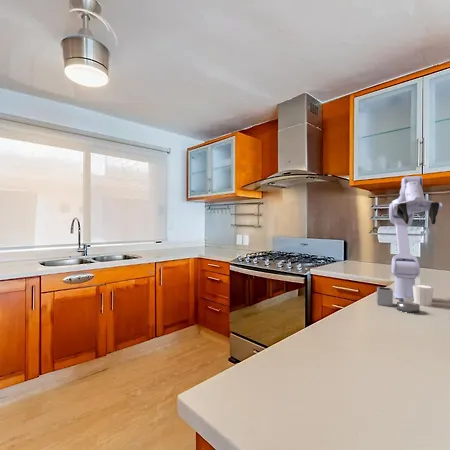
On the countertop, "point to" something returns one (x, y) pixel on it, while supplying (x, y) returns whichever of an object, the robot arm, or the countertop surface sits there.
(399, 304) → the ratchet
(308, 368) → the countertop surface
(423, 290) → the shot glass
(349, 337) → the countertop surface
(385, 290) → the socket
